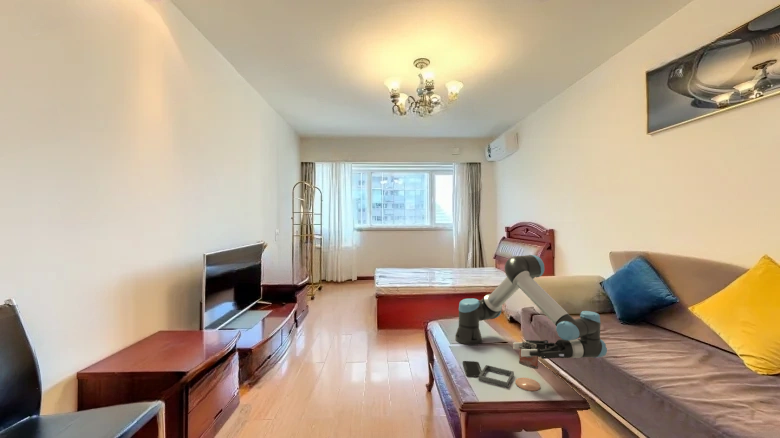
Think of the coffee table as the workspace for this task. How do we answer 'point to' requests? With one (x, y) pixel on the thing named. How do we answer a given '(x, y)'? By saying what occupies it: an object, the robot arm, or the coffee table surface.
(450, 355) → the coffee table surface
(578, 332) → the robot arm
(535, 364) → the lighter
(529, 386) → the coaster
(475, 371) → the phone
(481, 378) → the holder frame
